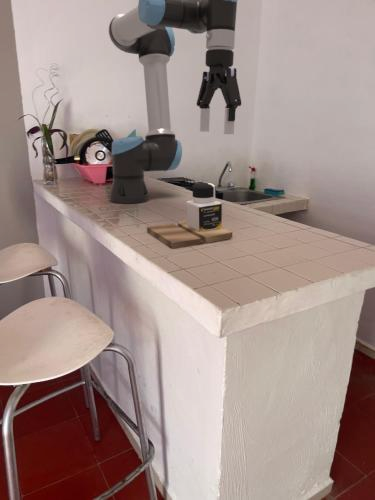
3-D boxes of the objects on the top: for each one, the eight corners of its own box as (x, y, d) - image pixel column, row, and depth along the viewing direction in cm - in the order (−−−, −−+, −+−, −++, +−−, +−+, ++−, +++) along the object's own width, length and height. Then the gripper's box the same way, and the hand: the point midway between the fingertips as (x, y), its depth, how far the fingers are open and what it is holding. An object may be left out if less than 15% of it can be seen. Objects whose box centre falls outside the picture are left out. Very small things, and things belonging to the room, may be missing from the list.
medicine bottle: (199, 232, 98) (198, 187, 94) (186, 226, 104) (185, 183, 100) (222, 228, 101) (222, 184, 97) (208, 222, 107) (208, 180, 103)
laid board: (147, 232, 104) (147, 226, 103) (176, 228, 108) (176, 223, 107) (172, 248, 90) (172, 242, 90) (204, 243, 94) (204, 238, 94)
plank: (177, 227, 108) (177, 222, 107) (201, 223, 111) (201, 218, 111) (206, 243, 95) (206, 237, 94) (232, 237, 98) (232, 232, 98)
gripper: (186, 54, 109) (185, 130, 116) (233, 41, 88) (228, 135, 95) (208, 56, 112) (206, 130, 120) (259, 45, 91) (252, 135, 99)
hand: (215, 132), depth 108 cm, fingers open, 13 cm apart
